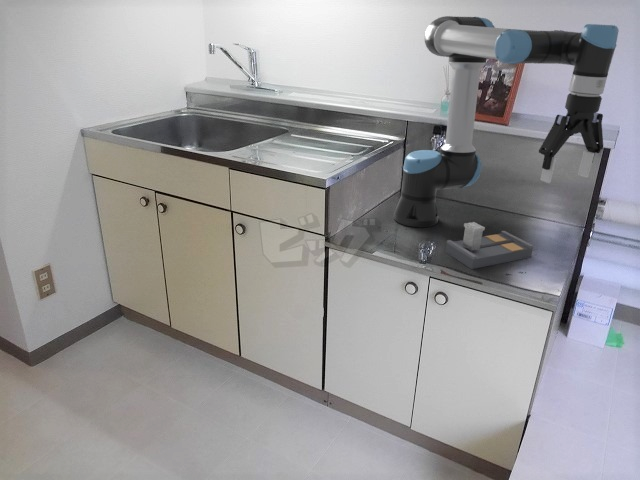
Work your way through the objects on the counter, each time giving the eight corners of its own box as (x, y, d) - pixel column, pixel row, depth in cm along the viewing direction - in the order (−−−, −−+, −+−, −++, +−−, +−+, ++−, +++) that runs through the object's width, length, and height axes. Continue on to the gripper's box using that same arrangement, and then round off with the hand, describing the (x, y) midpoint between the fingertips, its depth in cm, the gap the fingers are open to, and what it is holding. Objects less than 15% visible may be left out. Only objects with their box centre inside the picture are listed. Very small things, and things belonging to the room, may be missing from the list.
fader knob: (460, 245, 150) (464, 222, 147) (470, 243, 151) (474, 221, 149) (471, 251, 146) (474, 228, 143) (481, 249, 148) (485, 227, 145)
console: (445, 252, 154) (446, 240, 152) (502, 241, 162) (504, 230, 161) (471, 269, 144) (473, 256, 142) (530, 257, 152) (533, 245, 151)
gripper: (561, 98, 115) (540, 188, 124) (633, 94, 126) (610, 178, 134) (535, 93, 121) (517, 179, 130) (606, 90, 132) (585, 170, 140)
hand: (564, 178), depth 132 cm, fingers open, 13 cm apart
